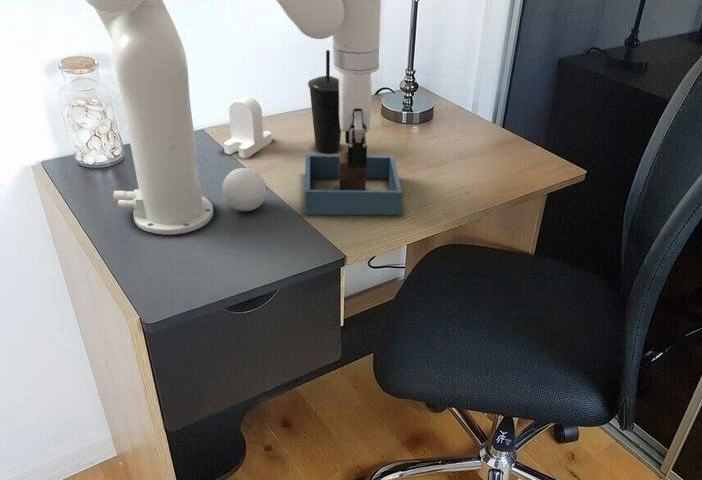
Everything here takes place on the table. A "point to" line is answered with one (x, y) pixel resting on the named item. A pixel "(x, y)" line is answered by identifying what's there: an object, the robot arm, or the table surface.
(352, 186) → the walnut block
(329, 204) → the desk tub
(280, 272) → the table surface
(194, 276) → the table surface
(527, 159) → the table surface
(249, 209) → the white ball
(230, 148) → the cable organizer
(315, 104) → the drinking cup
